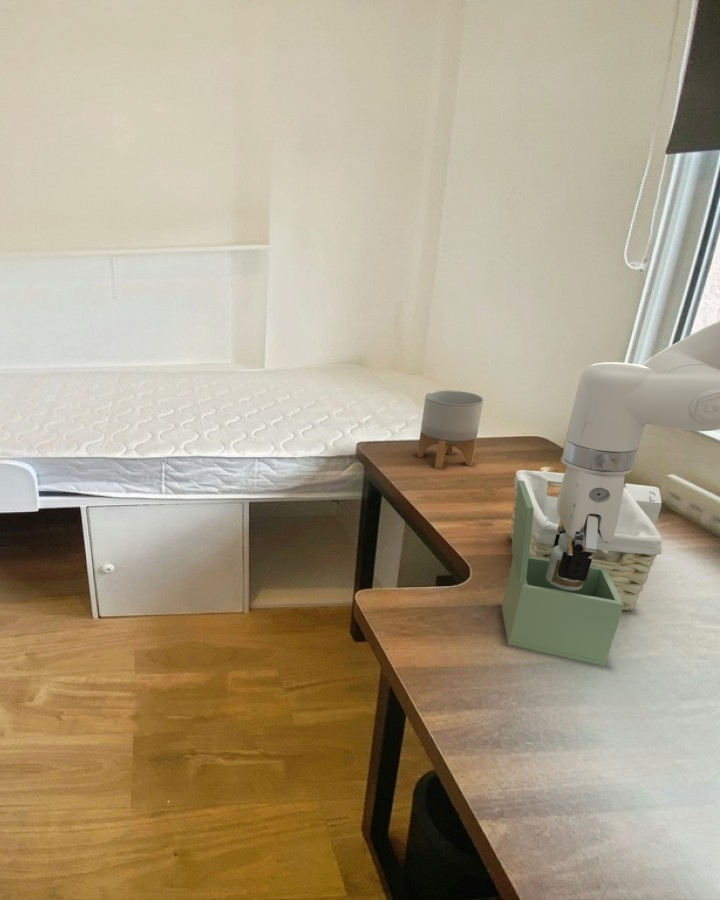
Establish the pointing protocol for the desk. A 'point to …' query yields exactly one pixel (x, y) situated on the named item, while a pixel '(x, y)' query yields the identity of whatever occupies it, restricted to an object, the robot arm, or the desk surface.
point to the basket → (620, 557)
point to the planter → (450, 424)
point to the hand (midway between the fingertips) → (567, 567)
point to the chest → (562, 614)
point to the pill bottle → (555, 563)
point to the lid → (522, 531)
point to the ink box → (646, 499)
